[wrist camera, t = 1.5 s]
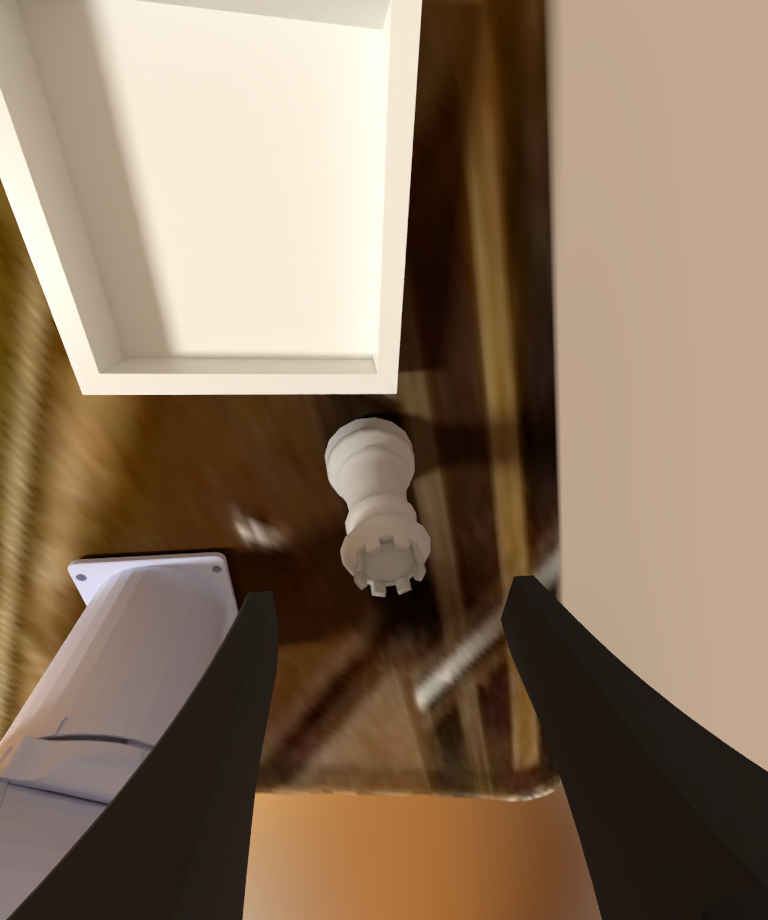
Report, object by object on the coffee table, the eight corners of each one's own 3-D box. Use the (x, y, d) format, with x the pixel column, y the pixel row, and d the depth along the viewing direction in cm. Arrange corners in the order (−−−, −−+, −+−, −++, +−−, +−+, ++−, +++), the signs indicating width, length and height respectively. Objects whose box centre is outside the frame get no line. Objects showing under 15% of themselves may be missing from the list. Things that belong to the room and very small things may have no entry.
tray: (388, 373, 18) (396, 393, 15) (115, 372, 16) (82, 394, 14) (407, 2, 12) (425, -48, 10) (-23, -54, 10) (-116, -128, 8)
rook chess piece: (341, 498, 21) (347, 628, 14) (311, 428, 19) (302, 544, 12) (419, 474, 21) (464, 595, 14) (400, 401, 18) (441, 503, 12)
